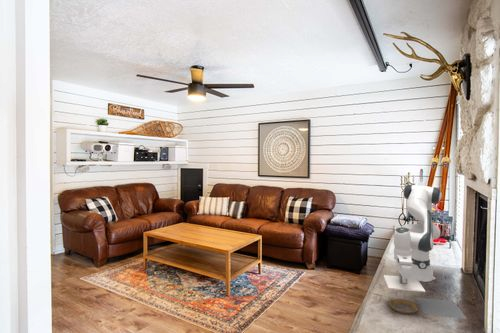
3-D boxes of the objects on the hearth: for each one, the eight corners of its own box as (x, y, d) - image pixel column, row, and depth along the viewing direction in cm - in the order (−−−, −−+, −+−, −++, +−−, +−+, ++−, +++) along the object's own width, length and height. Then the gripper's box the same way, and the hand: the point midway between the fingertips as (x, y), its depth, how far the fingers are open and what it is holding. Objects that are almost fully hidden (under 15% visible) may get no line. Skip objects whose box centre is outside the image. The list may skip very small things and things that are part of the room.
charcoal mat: (415, 298, 178) (415, 297, 178) (453, 302, 172) (453, 301, 172) (424, 314, 159) (424, 314, 159) (467, 319, 153) (467, 319, 153)
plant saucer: (408, 302, 174) (408, 298, 174) (423, 315, 159) (423, 311, 159) (384, 303, 173) (384, 299, 173) (397, 317, 158) (397, 312, 158)
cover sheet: (383, 276, 177) (383, 268, 177) (416, 278, 171) (416, 271, 171) (388, 288, 159) (388, 280, 159) (425, 292, 154) (425, 283, 154)
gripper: (393, 250, 176) (393, 273, 176) (400, 262, 156) (400, 287, 157) (404, 251, 174) (405, 274, 174) (413, 263, 155) (413, 288, 155)
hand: (403, 280), depth 165 cm, fingers closed on cover sheet, 3 cm apart
